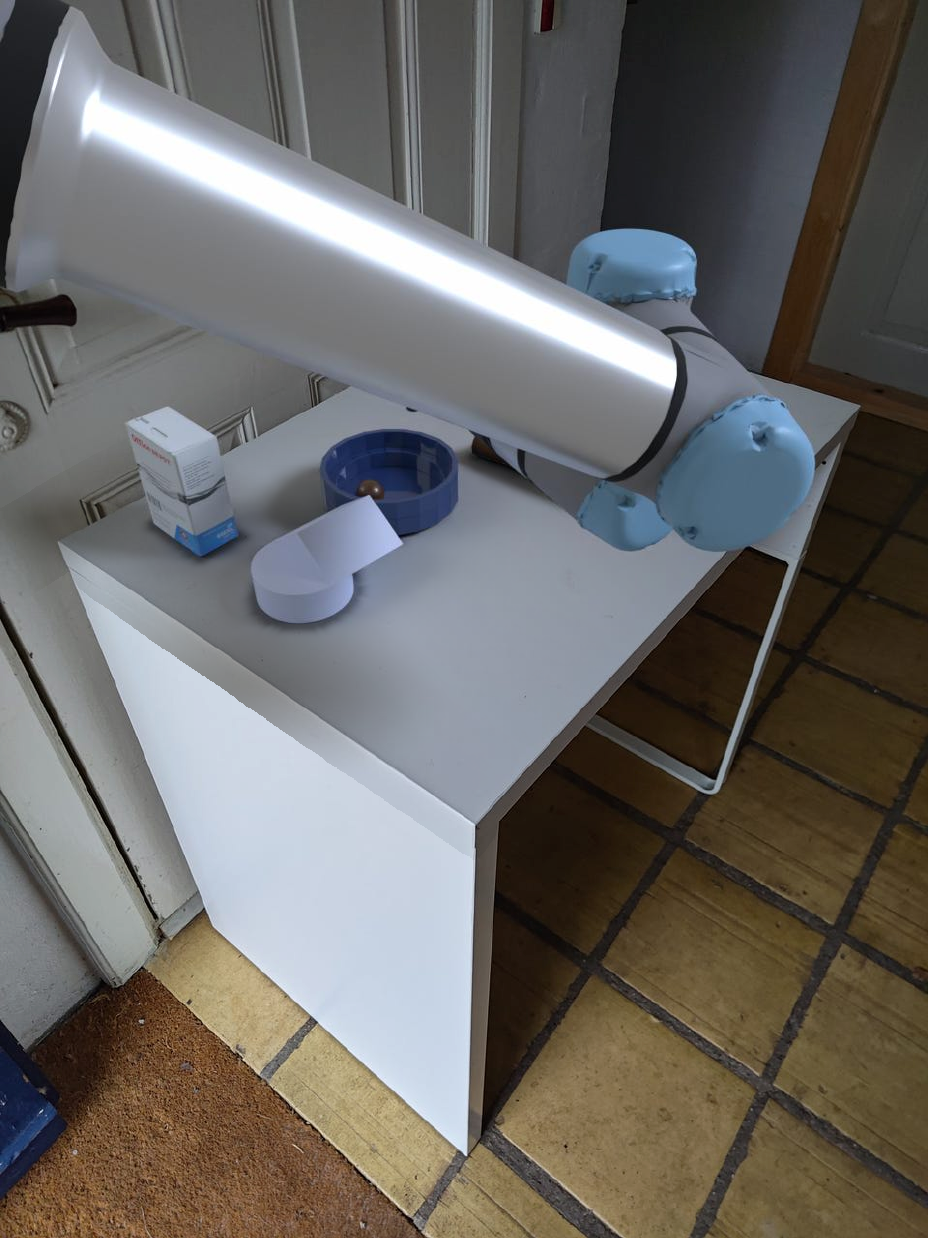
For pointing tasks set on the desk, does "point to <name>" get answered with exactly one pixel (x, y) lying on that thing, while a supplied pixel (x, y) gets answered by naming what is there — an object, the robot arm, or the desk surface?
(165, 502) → the ink box
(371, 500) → the wedge on round base
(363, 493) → the ball
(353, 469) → the bowl
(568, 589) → the desk surface
